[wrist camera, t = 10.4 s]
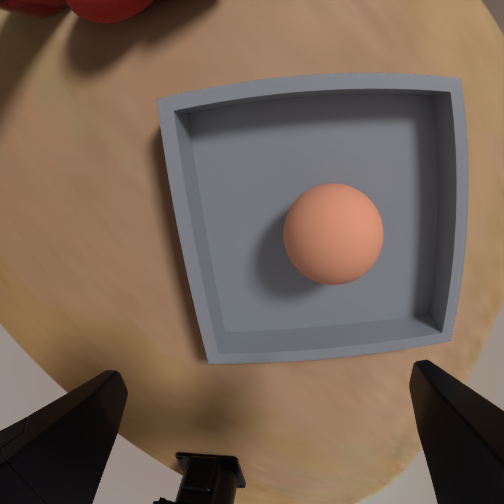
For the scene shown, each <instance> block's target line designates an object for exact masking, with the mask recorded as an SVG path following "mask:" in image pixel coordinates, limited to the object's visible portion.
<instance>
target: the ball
mask: <svg viewBox="0 0 504 504" xmlns="http://www.w3.org/2000/svg"><path fill="white" fill-rule="evenodd" d="M383 235H384V233H383V225H382V220H381V217H380V215H379V212H378V210H377V208H376V207H375V205H374V204H373V203H372V201H371V200H370V199H369V198H368V197H367V196H366V195H364V194H363V193H362V192H360V191H359V190H357V189H355V188H353V187H350V186H348V185H344V184H338V183H328V184H322V185H319V186H316V187H313V188H311V189H309V190H308V191H306V192H304V193H303V194H302V195H301V196H299V197H298V198H297V200H296V201H295V202H294V203H293V204H292V206H291V208H290V209H289V211H288V213H287V216H286V219H285V223H284V230H283V239H284V245H285V249H286V252H287V254H288V256H289V258H290V260H291V262H292V263H293V265H294V266H295V267H296V268H297V269H298V270H299V271H300V272H301V273H302V274H303V275H305V276H306V277H308V278H309V279H311V280H313V281H315V282H318V283H322V284H326V285H340V284H346V283H349V282H352V281H354V280H356V279H358V278H360V277H361V276H363V275H364V274H365V273H366V272H368V271H369V270H370V268H371V267H372V266H373V265H374V263H375V262H376V260H377V259H378V257H379V254H380V252H381V249H382V244H383Z"/></svg>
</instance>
